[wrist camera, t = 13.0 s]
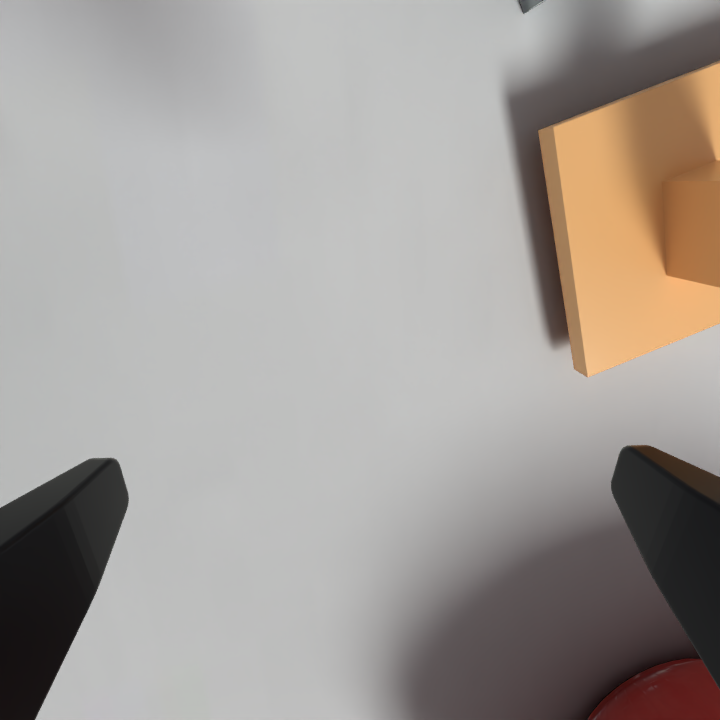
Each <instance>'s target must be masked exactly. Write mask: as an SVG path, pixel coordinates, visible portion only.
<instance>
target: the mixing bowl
mask: <svg viewBox="0 0 720 720" xmlns="http://www.w3.org/2000/svg"><path fill="white" fill-rule="evenodd" d="M587 720H720V690H719V688H718V686H717V685H716V683H715V681H714V680H713V678H712V676H711V675H710V673H709V671H708V670H707V668H706V666H705V665H704V663H703V661H702V659H689V658H687V659H681V660H674V661H669V662H666V663H663V664H660V665H656V666H654V667H652V668H649V669H647V670H644V671H643V672H641V673H639V674H637V675H635V676H633V677H632V678H630V679H629V680H627V681H625V682H624V683H622V684H621V685H620V686H618V687H617V688H616V689H615V690H613V691H612V692H611V693H610V694H609V695H607V696H606V697H605V698H604V699H603V700H602V701H601V702H600V703H599V705H598V706H597V707H596V708H595V709H594V711H593V712H592V713H591V714H590V716H589V718H588V719H587Z"/></svg>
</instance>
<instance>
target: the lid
mask: <svg viewBox="0 0 720 720" xmlns="http://www.w3.org/2000/svg"><path fill="white" fill-rule="evenodd" d="M538 133H539V140H540V147H541V153H542V160H543V166H544V173H545V180H546V186H547V193H548V200H549V206H550V213H551V219H552V226H553V233H554V239H555V246H556V253H557V259H558V266H559V272H560V279H561V286H562V292H563V299H564V306H565V312H566V319H567V325H568V332H569V339H570V345H571V352H572V359H573V365H574V369H575V370H576V371H578V372H580V373H581V374H583V375H585V376H586V377H590V376H592V375H595V374H597V373H600V372H602V371H605V370H607V369H609V368H612V367H614V366H617V365H619V364H622V363H624V362H627V361H629V360H631V359H634V358H636V357H639V356H641V355H644V354H646V353H649V352H651V351H653V350H656V349H658V348H661V347H663V346H666V345H668V344H670V343H673V342H675V341H678V340H680V339H683V338H685V337H688V336H690V335H692V334H695V333H697V332H700V331H702V330H705V329H707V328H710V327H712V326H714V325H717V324H719V323H720V61H717V62H715V63H712V64H709V65H707V66H704V67H702V68H699V69H696V70H694V71H691V72H689V73H686V74H683V75H681V76H678V77H676V78H673V79H670V80H668V81H665V82H663V83H660V84H657V85H655V86H652V87H649V88H647V89H644V90H642V91H639V92H636V93H634V94H631V95H629V96H626V97H623V98H621V99H618V100H616V101H613V102H610V103H608V104H605V105H603V106H600V107H597V108H595V109H592V110H590V111H587V112H584V113H582V114H579V115H577V116H574V117H571V118H569V119H566V120H563V121H561V122H558V123H556V124H553V125H550V126H548V127H545V128H543V129H540V130H538Z"/></svg>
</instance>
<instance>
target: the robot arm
mask: <svg viewBox="0 0 720 720" xmlns="http://www.w3.org/2000/svg"><path fill="white" fill-rule="evenodd" d="M611 489H612V494H613V496H614V498H615V501H616V503H617V505H618V507H619V509H620V511H621V513H622V515H623V517H624V520H625V522H626V524H627V526H628V528H629V530H630V532H631V534H632V536H633V538H634V541H635V543H636V545H637V547H638V549H639V551H640V553H641V555H642V557H643V559H644V562H645V563H646V565H647V567H648V569H649V571H650V573H651V575H652V577H653V579H654V580H655V582H656V584H657V586H658V587H659V589H660V591H661V593H662V594H663V596H664V598H665V599H666V601H667V603H668V604H669V606H670V608H671V609H672V611H673V613H674V614H675V616H676V618H677V619H678V621H679V623H680V624H681V626H682V628H683V629H684V631H685V633H686V634H687V636H688V638H689V639H690V641H691V643H692V644H693V646H694V648H695V649H696V651H697V653H698V654H699V656H700V658H701V659H702V661H703V663H704V665H705V666H706V668H707V670H708V671H709V673H710V675H711V676H712V678H713V680H714V681H715V683H716V685H717V686H718V688H719V690H720V477H718V476H716V475H714V474H711V473H709V472H707V471H705V470H702V469H700V468H698V467H696V466H694V465H691V464H689V463H687V462H685V461H683V460H680V459H678V458H676V457H674V456H672V455H669V454H667V453H665V452H663V451H660V450H658V449H656V448H654V447H651V446H648V445H631V446H626V447H624V448H623V449H622V450H621V451H620V454H619V457H618V461H617V464H616V467H615V471H614V474H613V477H612V481H611ZM128 501H129V497H128V491H127V488H126V484H125V481H124V478H123V474H122V471H121V468H120V465H119V462H118V461H117V460H116V459H114V458H92V459H89V460H86V461H85V462H83V463H81V464H79V465H77V466H76V467H74V468H72V469H70V470H68V471H66V472H65V473H63V474H61V475H59V476H57V477H56V478H54V479H52V480H50V481H48V482H46V483H45V484H43V485H41V486H39V487H37V488H36V489H34V490H32V491H30V492H28V493H26V494H25V495H23V496H21V497H19V498H17V499H16V500H14V501H12V502H10V503H8V504H7V505H5V506H3V507H1V508H0V720H35V719H36V717H37V715H38V712H39V710H40V708H41V706H42V704H43V702H44V700H45V698H46V696H47V694H48V692H49V690H50V688H51V686H52V683H53V681H54V679H55V677H56V675H57V673H58V671H59V669H60V667H61V665H62V663H63V661H64V659H65V657H66V654H67V652H68V650H69V648H70V646H71V644H72V642H73V640H74V638H75V636H76V634H77V632H78V630H79V628H80V625H81V623H82V621H83V619H84V617H85V615H86V613H87V611H88V609H89V607H90V605H91V602H92V600H93V598H94V596H95V594H96V591H97V589H98V586H99V584H100V581H101V579H102V576H103V574H104V571H105V568H106V565H107V563H108V560H109V557H110V554H111V552H112V549H113V546H114V543H115V541H116V538H117V535H118V532H119V530H120V527H121V524H122V521H123V519H124V516H125V513H126V510H127V507H128Z"/></svg>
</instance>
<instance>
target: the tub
mask: <svg viewBox="0 0 720 720" xmlns="http://www.w3.org/2000/svg"><path fill="white" fill-rule="evenodd" d="M544 1H546V0H520V3H521V6H522V10H523V13H526V12H528V11H529V10H531V9H533V8H534V7H536V6H537V5H539V4H541V3H542V2H544Z"/></svg>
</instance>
